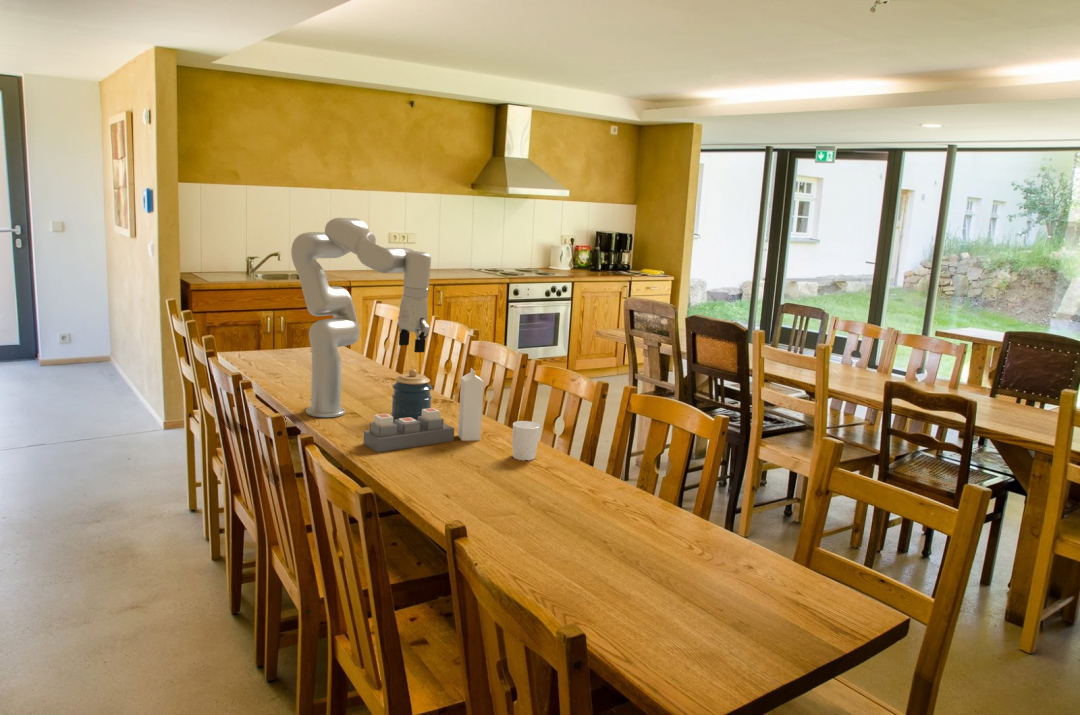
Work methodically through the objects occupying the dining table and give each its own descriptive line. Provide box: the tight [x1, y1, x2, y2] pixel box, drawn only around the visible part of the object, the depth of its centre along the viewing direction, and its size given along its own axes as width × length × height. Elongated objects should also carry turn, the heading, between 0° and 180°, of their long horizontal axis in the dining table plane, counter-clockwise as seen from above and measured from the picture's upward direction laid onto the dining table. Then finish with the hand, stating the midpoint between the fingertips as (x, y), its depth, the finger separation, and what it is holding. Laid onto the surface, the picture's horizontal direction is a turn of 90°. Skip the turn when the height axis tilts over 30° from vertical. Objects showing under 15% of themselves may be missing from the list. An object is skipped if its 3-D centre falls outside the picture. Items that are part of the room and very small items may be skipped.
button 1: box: [373, 413, 394, 427], centre depth 224 cm, size 4×4×3 cm
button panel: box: [362, 416, 455, 453], centre depth 231 cm, size 9×26×7 cm, turn 130°
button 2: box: [398, 417, 417, 424], centre depth 230 cm, size 4×4×3 cm
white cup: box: [512, 420, 541, 461], centre depth 225 cm, size 8×8×10 cm
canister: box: [390, 368, 433, 423], centre depth 253 cm, size 13×13×18 cm
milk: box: [457, 367, 485, 442], centre depth 239 cm, size 6×6×22 cm
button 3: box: [421, 407, 441, 421], centre depth 235 cm, size 4×4×3 cm
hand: (411, 348), depth 233 cm, fingers open, 9 cm apart
